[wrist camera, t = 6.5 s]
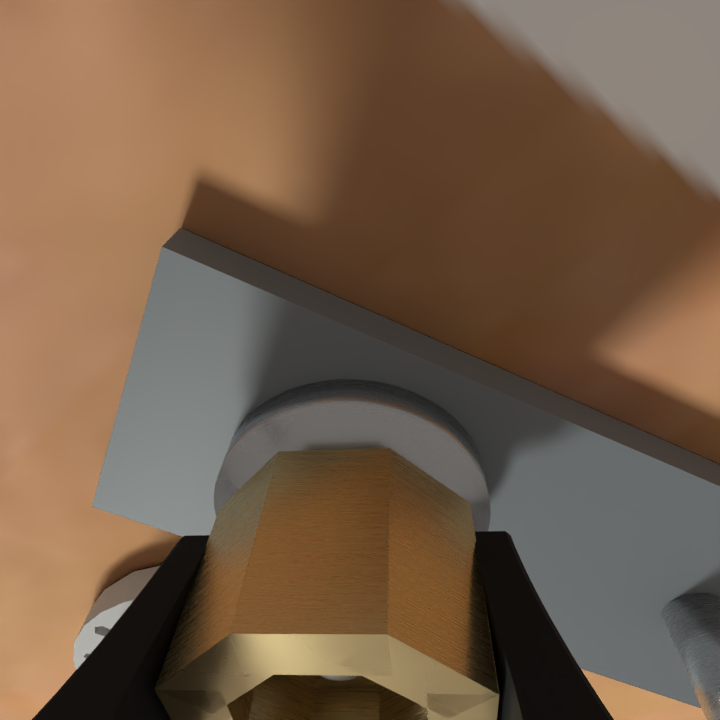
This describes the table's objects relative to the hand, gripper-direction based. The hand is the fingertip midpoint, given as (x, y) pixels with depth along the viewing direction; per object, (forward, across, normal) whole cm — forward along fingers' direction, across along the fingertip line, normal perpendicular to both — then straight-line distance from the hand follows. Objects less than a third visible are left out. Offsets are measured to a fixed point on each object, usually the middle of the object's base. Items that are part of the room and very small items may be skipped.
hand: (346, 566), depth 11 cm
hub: (+2, 0, 0) cm, 2 cm away
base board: (+3, -4, +2) cm, 6 cm away
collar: (+1, 0, 0) cm, 1 cm away
